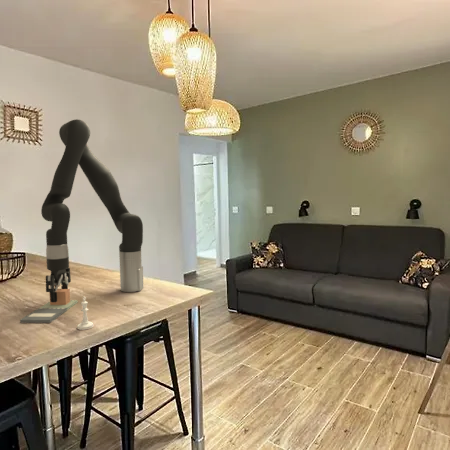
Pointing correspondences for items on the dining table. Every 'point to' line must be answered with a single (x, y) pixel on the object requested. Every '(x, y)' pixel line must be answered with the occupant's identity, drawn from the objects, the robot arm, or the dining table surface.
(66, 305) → the green plate orange block
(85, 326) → the chess piece
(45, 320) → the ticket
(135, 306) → the dining table surface
